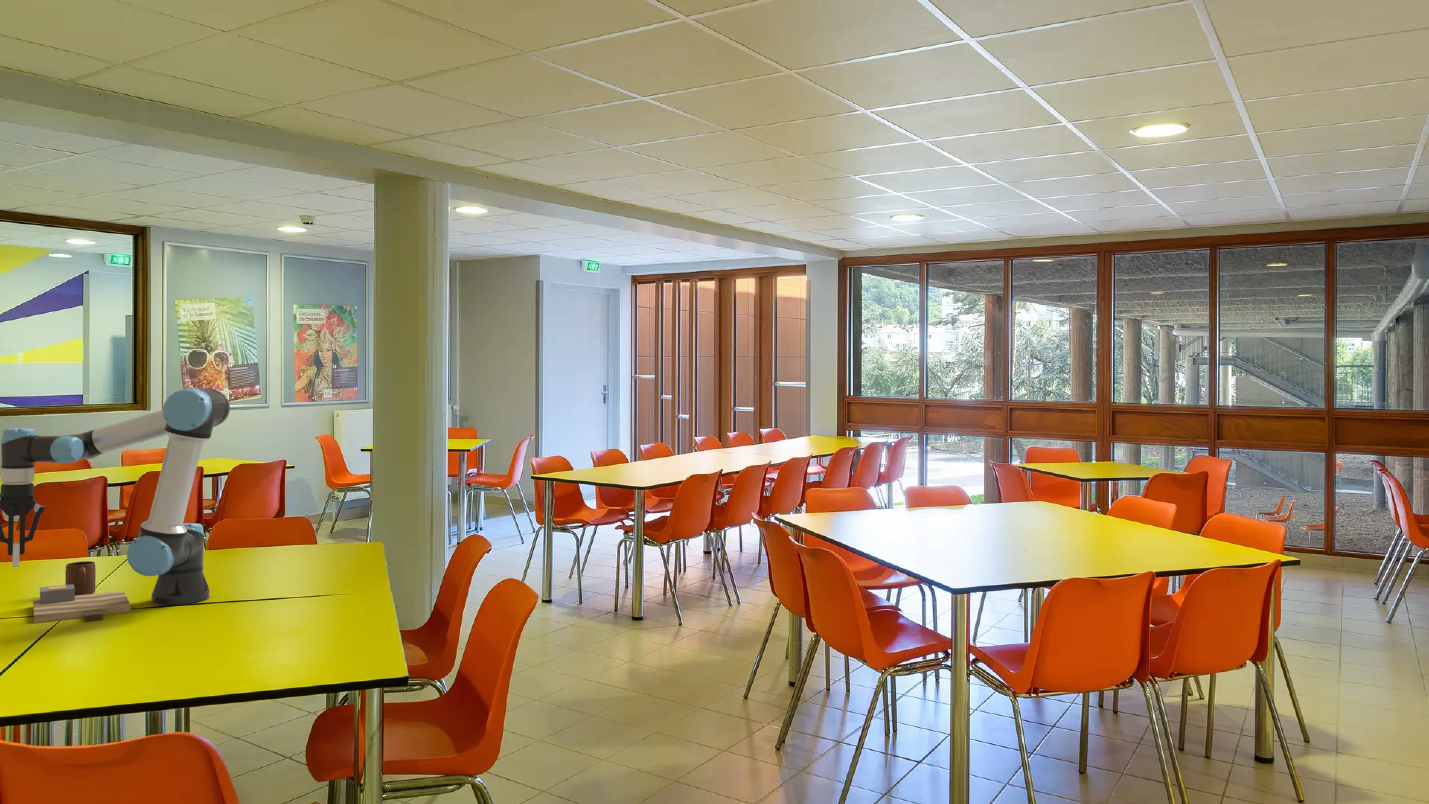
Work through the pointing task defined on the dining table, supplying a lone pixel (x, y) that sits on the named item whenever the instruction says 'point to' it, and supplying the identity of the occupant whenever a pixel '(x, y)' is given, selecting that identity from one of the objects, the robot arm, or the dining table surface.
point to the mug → (81, 577)
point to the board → (83, 607)
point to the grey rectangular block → (57, 594)
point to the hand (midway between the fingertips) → (15, 566)
